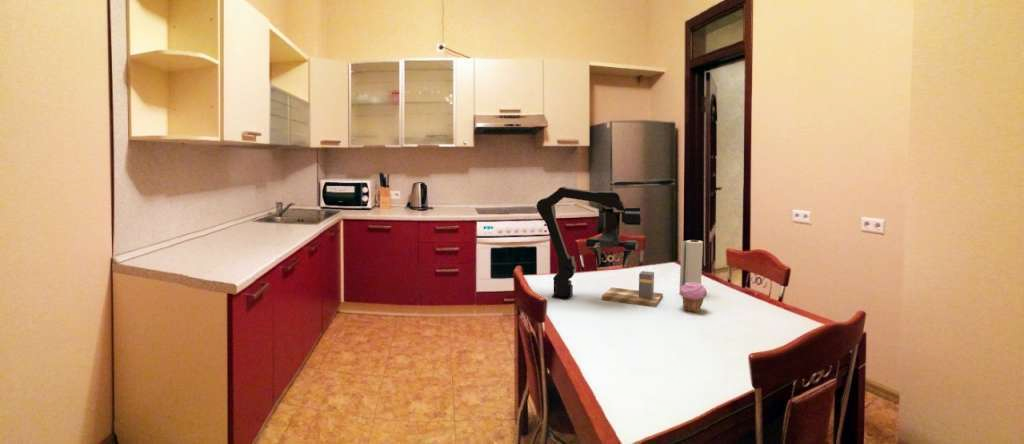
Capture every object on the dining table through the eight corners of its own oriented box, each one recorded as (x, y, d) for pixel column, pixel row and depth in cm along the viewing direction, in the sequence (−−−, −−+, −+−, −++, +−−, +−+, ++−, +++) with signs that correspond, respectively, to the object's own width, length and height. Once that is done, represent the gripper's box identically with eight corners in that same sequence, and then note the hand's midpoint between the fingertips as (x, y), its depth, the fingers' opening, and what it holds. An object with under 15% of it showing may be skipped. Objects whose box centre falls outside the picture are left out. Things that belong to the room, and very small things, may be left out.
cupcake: (674, 310, 160) (676, 282, 159) (685, 304, 166) (686, 277, 165) (700, 316, 154) (701, 287, 153) (710, 309, 160) (711, 282, 159)
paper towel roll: (702, 294, 179) (704, 240, 176) (698, 298, 174) (701, 242, 171) (682, 291, 183) (684, 238, 180) (679, 295, 178) (681, 241, 175)
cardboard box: (601, 299, 173) (601, 295, 173) (611, 290, 184) (611, 287, 184) (655, 307, 164) (656, 303, 163) (662, 297, 175) (662, 293, 175)
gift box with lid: (638, 297, 171) (639, 273, 169) (641, 293, 175) (641, 271, 173) (651, 298, 168) (651, 275, 167) (653, 295, 172) (654, 272, 171)
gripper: (580, 226, 167) (580, 268, 169) (631, 229, 158) (630, 273, 160) (590, 222, 176) (590, 262, 178) (639, 225, 167) (638, 266, 170)
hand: (611, 266), depth 171 cm, fingers open, 9 cm apart
